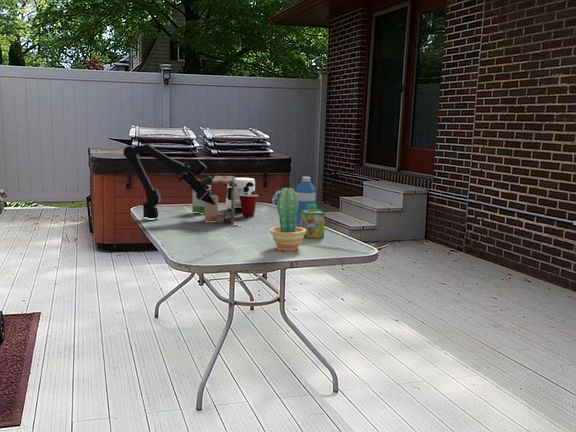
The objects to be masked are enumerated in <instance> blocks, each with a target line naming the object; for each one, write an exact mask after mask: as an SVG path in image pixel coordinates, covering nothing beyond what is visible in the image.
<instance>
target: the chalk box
mask: <svg viewBox="0 0 576 432" xmlns="http://www.w3.org/2000/svg"><path fill="white" fill-rule="evenodd" d="M317 204H318V203H315V204H307V210H301V211H300V227H301V228H305V229H306V230H307V231H306V234H305V235H304V237H303V239H324V238H325V235H324V234H325V221H326V220H325V217H326V216H325V215H326V213H325V212H323V211H322V210H319V209H318V205H317ZM311 206H313V207H314V209H313V210H311V209H310V207H311Z"/></svg>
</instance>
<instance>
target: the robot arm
mask: <svg viewBox="0 0 576 432" xmlns="http://www.w3.org/2000/svg"><path fill="white" fill-rule="evenodd" d="M144 153H147V154H148V155H150V156H151V157H153V158H155V159H156V160H158V162H161V163H162V164H164V165H165V166H167V168H168V169H169V170H171V171H172V172H173V173H174V174H175V175H178V177H177V178H178V182H179V183H180V182H182V181H183V182H184V183H185V184H186V185H188V186H189V189H191V190H192V191H193V190H194V191H195V192H196V194H197V195H196V198H197V199H198V200H202V201H205V202H208V203H210V204H213V205H215V202H214V201H213V199H212V198H211V197H210V195H212V194H211V193H212V192H211V193H210V189H209V188H210V187H209V186H208V185H210V184H213V183H212V180H213V176H212V175H205V177H204V178H203V179H202V180H201V179H200V178H197V176H200V175H201V174H203V172H204V171H205V170H207V168H208V167H207V165H206V164H205V163H204V162H202V161H200V159H198V158H196V159H195V160H194V161H193V162H192V164H191V165H187V164H184V163H183V162H181V161H178V160H176V159H173V158H171V157H169V156H167V154H164V153H163V152H161V151H160V150H158V149H156V148H155V147H153V146H152V145H151V144H149V143H146V144H143V145H137V146H134V145H128V146H126V147H125V148H123V152H122V154H123V155H124V157H125V158H126V160H127V161H128V162H129V163H130V164H131V165H132V167H133V169H134V171H135V174H136V175H137V178H138V179H139V181H140V184H141V185H142V187H143V189H144V193H145V198H146V201H145V202H144V203H143V205H142V211H143V213H142V214H143V217H142V218H144V217H148V218H157V217H158V218H159V210H158V207H157V205H158V204H159V203H160V202H161V199H162V198H161V196H162V195H161V193H160V191H159V189H158V188H154V187H153V185H152V183H151V180H150V179H149V177H148V175H147V173H146V171H145V169H144V167H143V164H142V163H141V160H140V154H144ZM181 174H182V175H181ZM208 189H209V190H208Z"/></svg>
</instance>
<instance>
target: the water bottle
mask: <svg viewBox="0 0 576 432" xmlns="http://www.w3.org/2000/svg"><path fill="white" fill-rule="evenodd" d="M295 192H296V194H297V195H298V198H299V205H298V210H297V213H296V227H300V211H301V210H307V204H316V192H317V191H316V188H315V186H314V184H313V182H312V181H311V176H302V177H301V182H300V183H299V184H298V185H297V186H296V191H295ZM310 209H311V210H313V209H314V207H313V206H311V207H310Z"/></svg>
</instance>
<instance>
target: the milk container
mask: <svg viewBox="0 0 576 432" xmlns="http://www.w3.org/2000/svg"><path fill="white" fill-rule="evenodd" d="M226 188H227V195H226V198H225V207H226V209H227V210H229V211H231V184H227V187H226ZM255 192H256V181H255V178H252V177H235V212H242V208H241V201H240V197H239V195H241V194H249V195H256V193H255Z"/></svg>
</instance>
